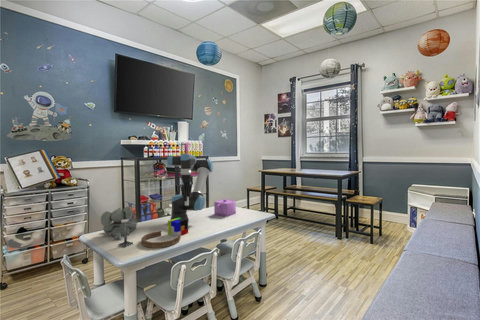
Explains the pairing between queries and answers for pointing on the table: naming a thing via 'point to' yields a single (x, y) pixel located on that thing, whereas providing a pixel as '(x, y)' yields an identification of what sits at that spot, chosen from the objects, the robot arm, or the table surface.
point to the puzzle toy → (177, 226)
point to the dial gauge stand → (126, 233)
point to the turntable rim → (158, 244)
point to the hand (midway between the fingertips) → (186, 205)
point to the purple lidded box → (225, 207)
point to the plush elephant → (117, 222)
